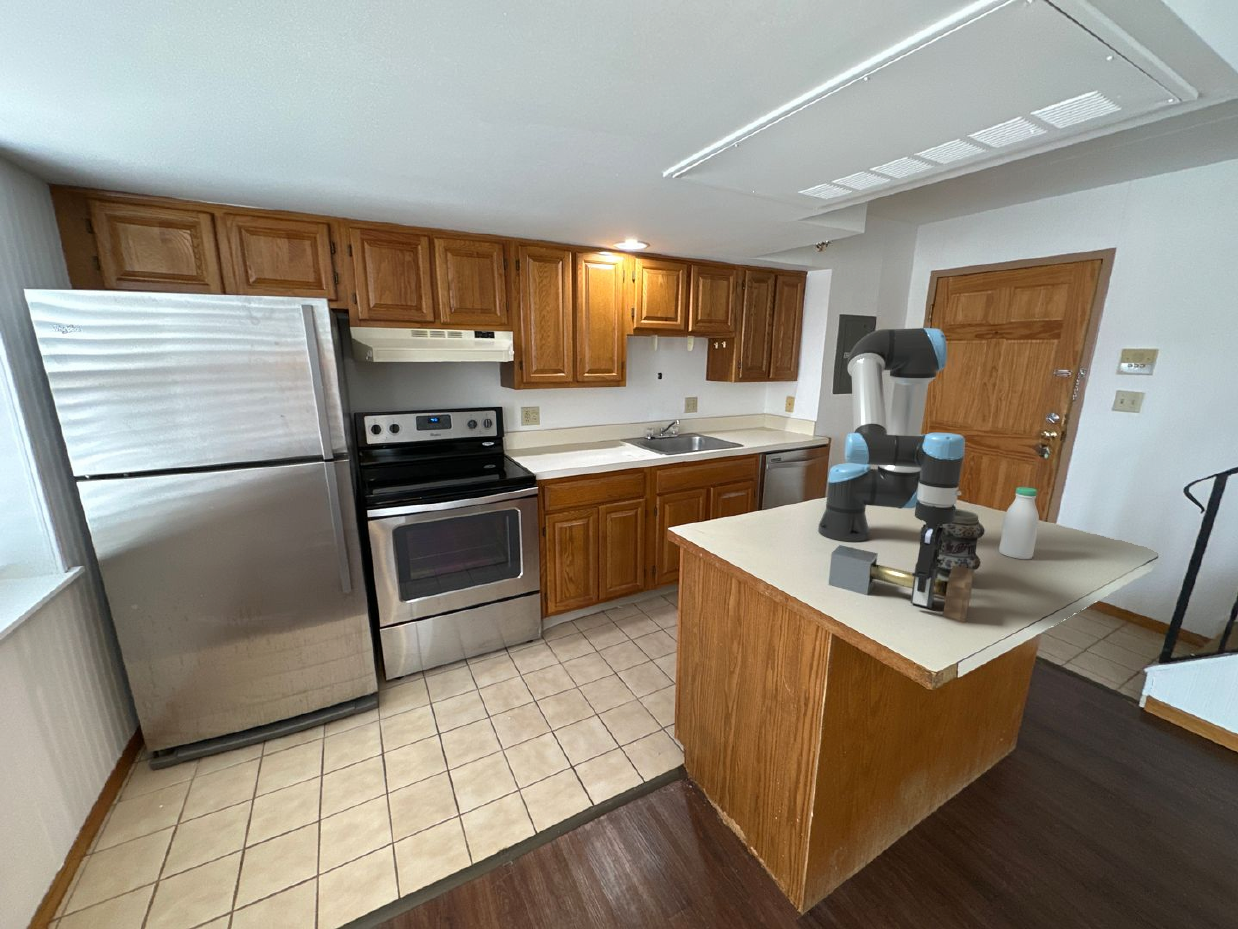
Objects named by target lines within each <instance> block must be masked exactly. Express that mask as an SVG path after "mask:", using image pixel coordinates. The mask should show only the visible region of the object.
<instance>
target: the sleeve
mask: <svg viewBox="0 0 1238 929" xmlns="http://www.w3.org/2000/svg"><path fill="white" fill-rule="evenodd" d="M878 554H879V553H878V552H877V553H876V552H873V551H867V550H863V549H859V548H855V547H851V546H846V545H842V544H839V545H838V546H837V547H836V548H835V549H834V550H833V551H832V552H831V555H830V566H829V577H828V578H829V579H828V585H829V586H832V587H836V588H840V589H843V590H847V589H848V590H847V591H850V590H851V592H854V593H859V594H863V595H866V596H867V595H869V594H870V592H871V590H872V589H873V588H874V586H875V582H876V581H875V580H876V579H872V578H870V573H871V564H872V563H873V564H877V563H878V556H879V555H878ZM877 565H878V564H877Z"/></svg>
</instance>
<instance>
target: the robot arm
mask: <svg viewBox="0 0 1238 929" xmlns="http://www.w3.org/2000/svg"><path fill="white" fill-rule="evenodd" d="M947 345H948V344H947V340H946V336H945V334H944V332H943V331H942V330H941V329H939V328H929V327H928V328H927V327H917V328H915V327H914V328H913V327H912V328H894V329H893V328H892V329H889V328H883V329H876V330H874V331H871V332H870V333H868V334H866V335H865V336H864V337H861V339H859V341H858V342H857V343H855V345H854V346H853V348H852V349H851V351H850V353H849V356H848V358H847V372H848V374H849V376H850V377H851V391H852V392H851V395H852V396H851V398H852V418H853V419H852V421H853V422H852V423H853V425H852V426H853V432H851V433H848V434H847V435H846V438H845V445H844V458H845V461H846V462H844V463H839V464H835V465H833V466H832V467H830V469H829V474H828V479H827V494H826V502H825V503H826V504H825V510H824V512H823V515H822V517H821V519H820V520H819V523H818V529H817V532H818V533H819V534H820V535H822V536H824V537H826V538H828V539H832V540H835V541H840V542H849V543H850V542H853V543H855V542H863V541H866V540H868V539H869V537H870V527H869V524H868V519H867V516H866V508H867V506H870V507H871V506H872V507H873V506H874V507H884V508H893V509H894V508H895V509H914V510H915V511H914V517H915V518H916V519H917V520H919V521H923V522H925V524H923V525H922V526H921V528H920V540H919V549H918V556H917V562H916V563H917V567H916V573H915V572H911V573H912V576H915V577H916V580H915V588H914V595H913V603H916V604H920V605H924V606H927V601H928V594H929V587H930V580H931V578H930V573H931V567H932V562H933V561H936V562H939V563H940V564H941V559H938V557H939V549H940V543H941V539H942V535H943V531H944V528H942V525H943V524H950V523H952V522H954V518H955V511H956V509H957V506H955V505H956V504H957V502H958V496H962V491H961V490H959V486H960V481H961V475H962V470H963V468H962V467H963V464H964V463H963V461H964V456H965V454H966V450H965V448H966V439H965V436H963V435H961V434H957V433H951V432H930V433H927V434H922V428H923V421H924V414H925V409H926V404H927V395H928V390H929V383H931V381H933V380H935V379H936V376H937V372H940V371H943V370H944V369H945V367H946V363H947V360H948V347H947ZM884 371H889V377H890V379H891V380H892V381H893V384H894V385H893V391H892V392H893V393H892V399H891V408H890V414H889V415H890V416H889V423H888V425H887V418H886V417H887V416H886V407H885V406H886V405H885V404H886V403H885V396H884V395H885V394H884V382H883V372H884ZM887 427H888V428H887ZM870 465H871V466H873V465H874V466H877V468H871V466H870ZM923 572H924V573H923ZM913 603H912V604H913ZM916 604H915V605H916ZM920 605H919V606H920ZM924 606H923V607H924Z"/></svg>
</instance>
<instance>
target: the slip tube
mask: <svg viewBox="0 0 1238 929" xmlns="http://www.w3.org/2000/svg"><path fill="white" fill-rule="evenodd" d="M916 567H917V562H916V563H915V567H914V573H916ZM938 569H939V562H936V561H933V562H932V567H931V573H930V578H931V580H930V587H929V594H928V601H927V606H924V605H920V604H916V603H913V595H914V588H915V580H916V577H915V576H912V573H913V572H910V571H907V570H901V569H898V568H893V567H889V566H885V565H881V564H873V563H872V564H871V573H870V578H872V579H875V580H877V581H881V582H885V583H888V584H893V585H896V586H901V587H905V588H908V589H911V597H910V604H913V605H916V606H921V607H924V608H928V609H931V608H932V606H933V604H934V601H935V597H936V596H940V597H944V598H946V592H947V585H948V581H945V580H941V579H937V576H938ZM923 573H924V572H923Z"/></svg>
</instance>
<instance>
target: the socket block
mask: <svg viewBox="0 0 1238 929" xmlns="http://www.w3.org/2000/svg"><path fill="white" fill-rule="evenodd" d="M974 574H975V570H974V569H969V568H964V567H960V566H955V565H953V567H952V569H951V572H950V575H949V578H948V585H947V592H946V597H944V598H945V599H944V607H943V612H942V617H943V618H946V619H951V620H954V621H958V622H960V623H966V621H967V620H966V618H967V615H968V611H969V607H970V606H969V605H970V600H971V593H972V588H973V581H974Z"/></svg>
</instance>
